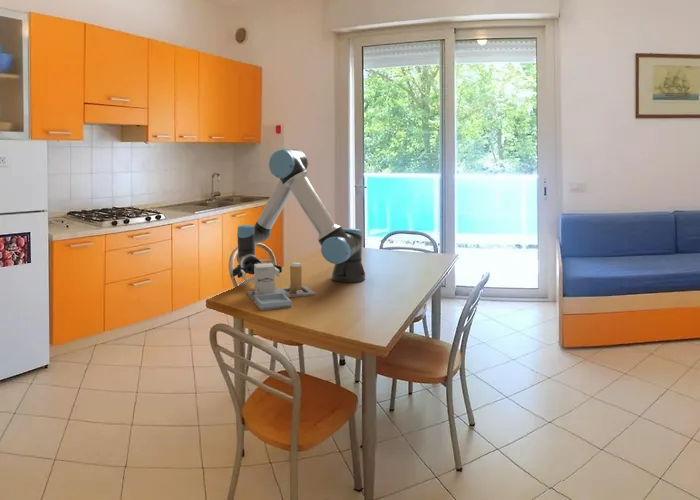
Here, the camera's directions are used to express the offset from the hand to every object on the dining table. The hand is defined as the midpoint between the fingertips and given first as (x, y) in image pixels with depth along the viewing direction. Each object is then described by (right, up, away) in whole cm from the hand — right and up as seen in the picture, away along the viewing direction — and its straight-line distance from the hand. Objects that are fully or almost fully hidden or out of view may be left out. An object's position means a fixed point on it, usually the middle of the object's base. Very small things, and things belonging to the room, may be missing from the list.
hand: (261, 275), depth 205 cm
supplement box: (+1, -8, 0) cm, 9 cm away
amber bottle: (+13, -7, +5) cm, 16 cm away
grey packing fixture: (+7, -8, +3) cm, 11 cm away
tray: (+6, -11, -11) cm, 16 cm away
